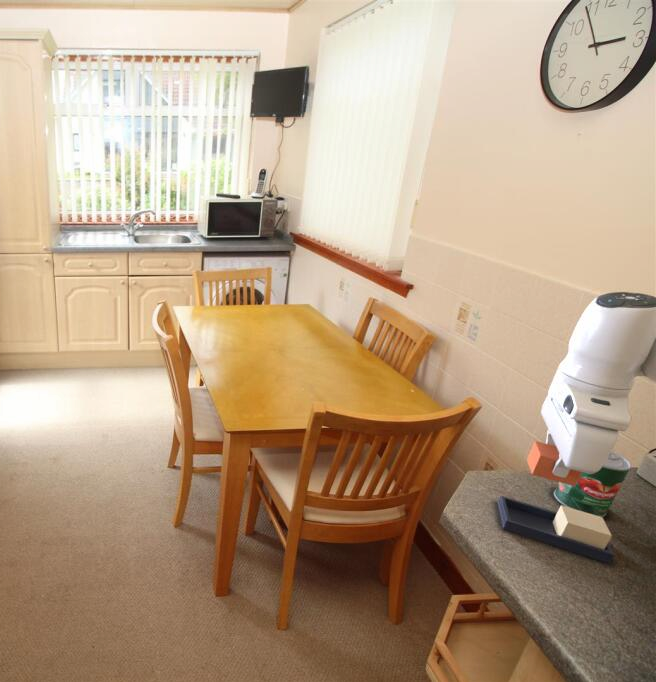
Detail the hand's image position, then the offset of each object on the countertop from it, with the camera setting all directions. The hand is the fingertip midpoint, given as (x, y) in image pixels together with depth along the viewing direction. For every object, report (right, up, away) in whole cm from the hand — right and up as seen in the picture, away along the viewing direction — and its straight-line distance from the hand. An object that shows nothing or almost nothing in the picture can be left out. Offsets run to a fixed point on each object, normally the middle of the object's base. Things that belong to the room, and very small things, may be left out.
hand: (553, 464), depth 81 cm
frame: (+3, -13, +4) cm, 14 cm away
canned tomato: (+15, -11, +12) cm, 22 cm away
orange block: (0, -2, +1) cm, 2 cm away
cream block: (+6, -13, +2) cm, 15 cm away
